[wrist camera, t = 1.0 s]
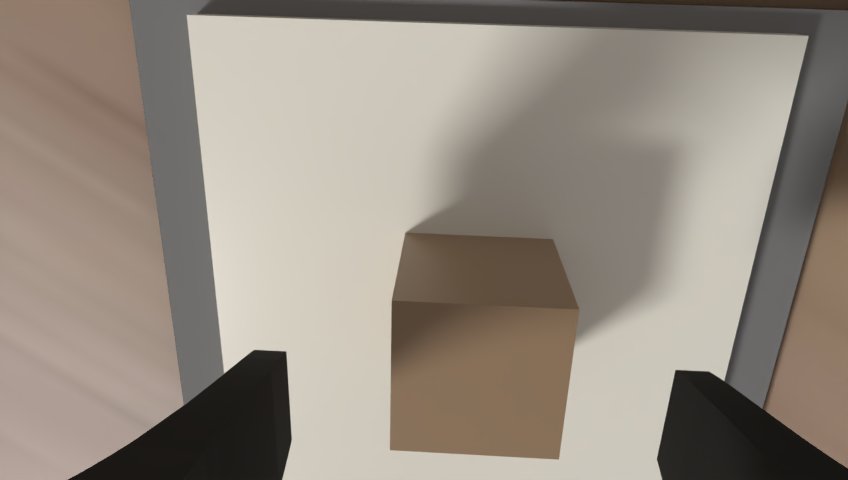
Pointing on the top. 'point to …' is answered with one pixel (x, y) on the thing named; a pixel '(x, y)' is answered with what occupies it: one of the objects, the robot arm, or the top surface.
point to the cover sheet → (484, 231)
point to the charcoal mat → (497, 4)
